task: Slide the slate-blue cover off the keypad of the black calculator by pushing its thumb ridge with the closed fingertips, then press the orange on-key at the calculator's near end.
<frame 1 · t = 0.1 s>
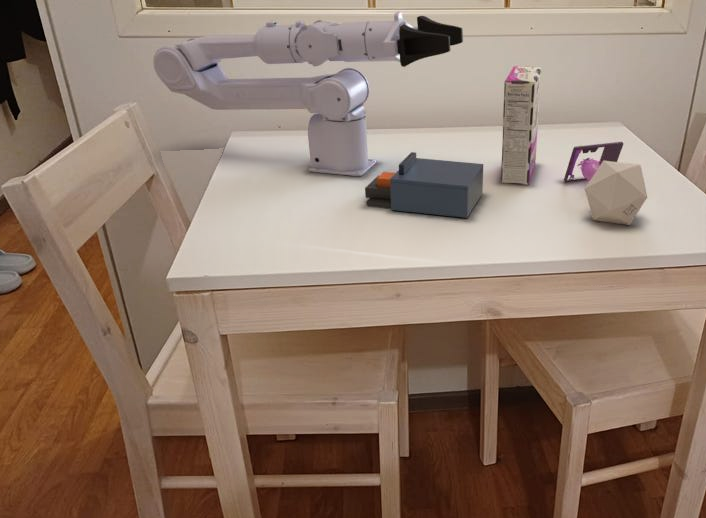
hand: (456, 39, 108), 22 cm above the table, tool horizontal, fingers open, 7 cm apart
die: (612, 220, 106), on the table
purple piece: (594, 184, 119), on the table
on key: (390, 180, 111), point 3 cm above the table, slide at 0.1 cm
keypad: (433, 186, 109), on the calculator, point 2 cm above the table
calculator: (422, 201, 111), on the table
candy bar box: (517, 175, 122), on the table
cover: (438, 181, 109), point 3 cm above the table, slide at 0.0 cm
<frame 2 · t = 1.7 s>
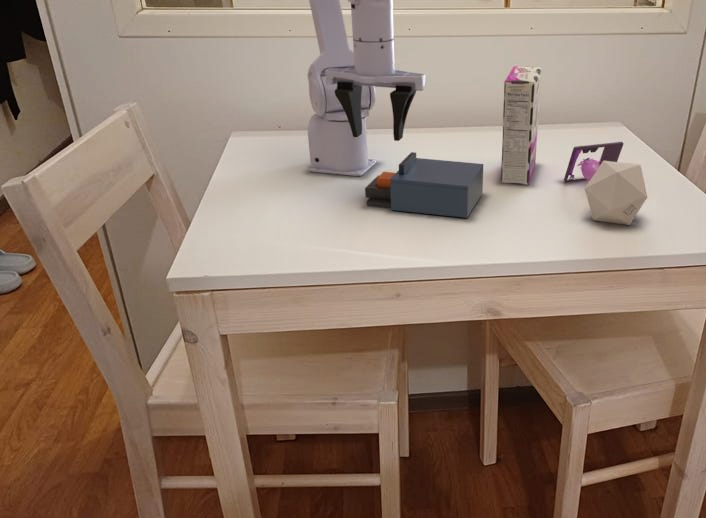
hand: (377, 137, 107), 9 cm above the table, tool pointing down, fingers open, 6 cm apart
nothing on the table moved.
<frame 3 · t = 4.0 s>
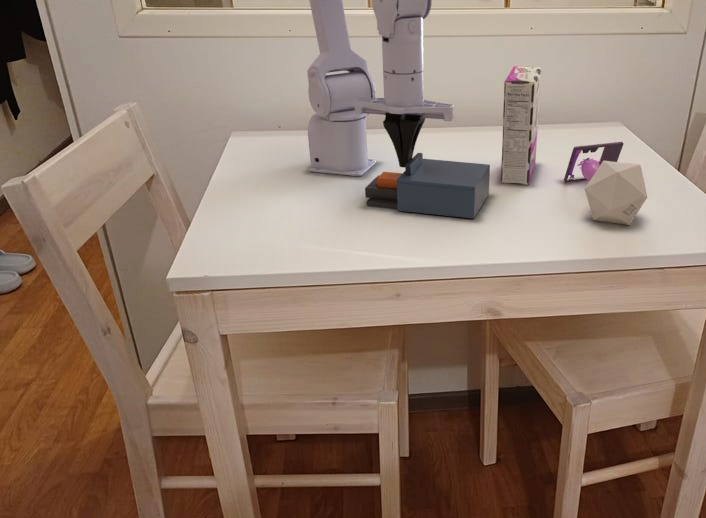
hand: (405, 165, 109), 6 cm above the table, tool pointing down, fingers closed
cover: (444, 182, 108), point 3 cm above the table, slide at 1.0 cm, touching gripper
everything else where it was.
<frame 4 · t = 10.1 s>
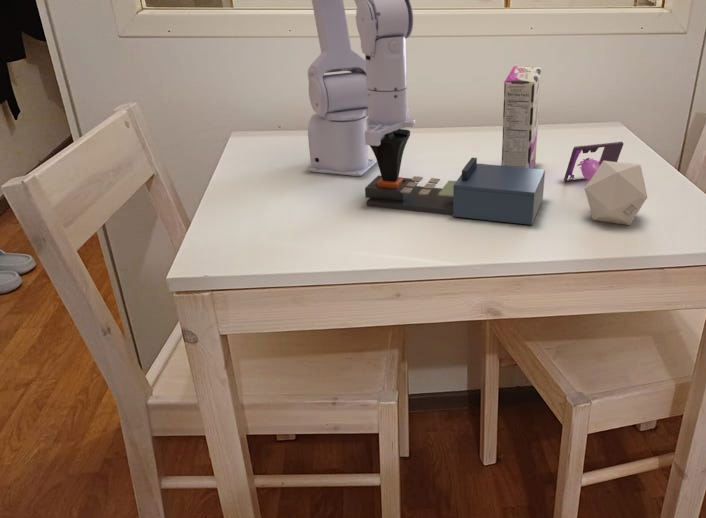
hand: (390, 179, 110), 3 cm above the table, tool pointing down, fingers closed, pressing on on key
on key: (390, 184, 111), point 2 cm above the table, slide at -0.5 cm, touching gripper
cover: (500, 187, 107), point 3 cm above the table, slide at 9.6 cm
everything else where it was.
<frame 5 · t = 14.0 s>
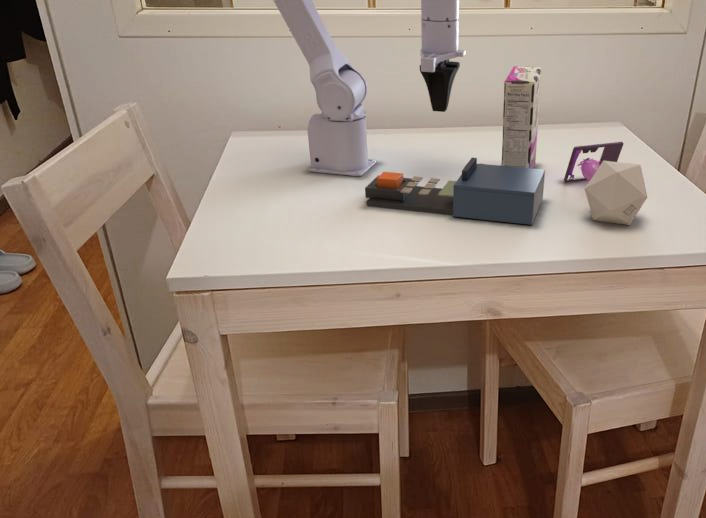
hand: (439, 110, 117), 10 cm above the table, tool pointing down, fingers closed
on key: (390, 180, 111), point 3 cm above the table, slide at 0.1 cm
everything else where it was.
at the end: cover slide at 9.6 cm; on key pushed in 0.9 cm at the most during the clip, back to where it started at the end; on key slide at 0.1 cm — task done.
